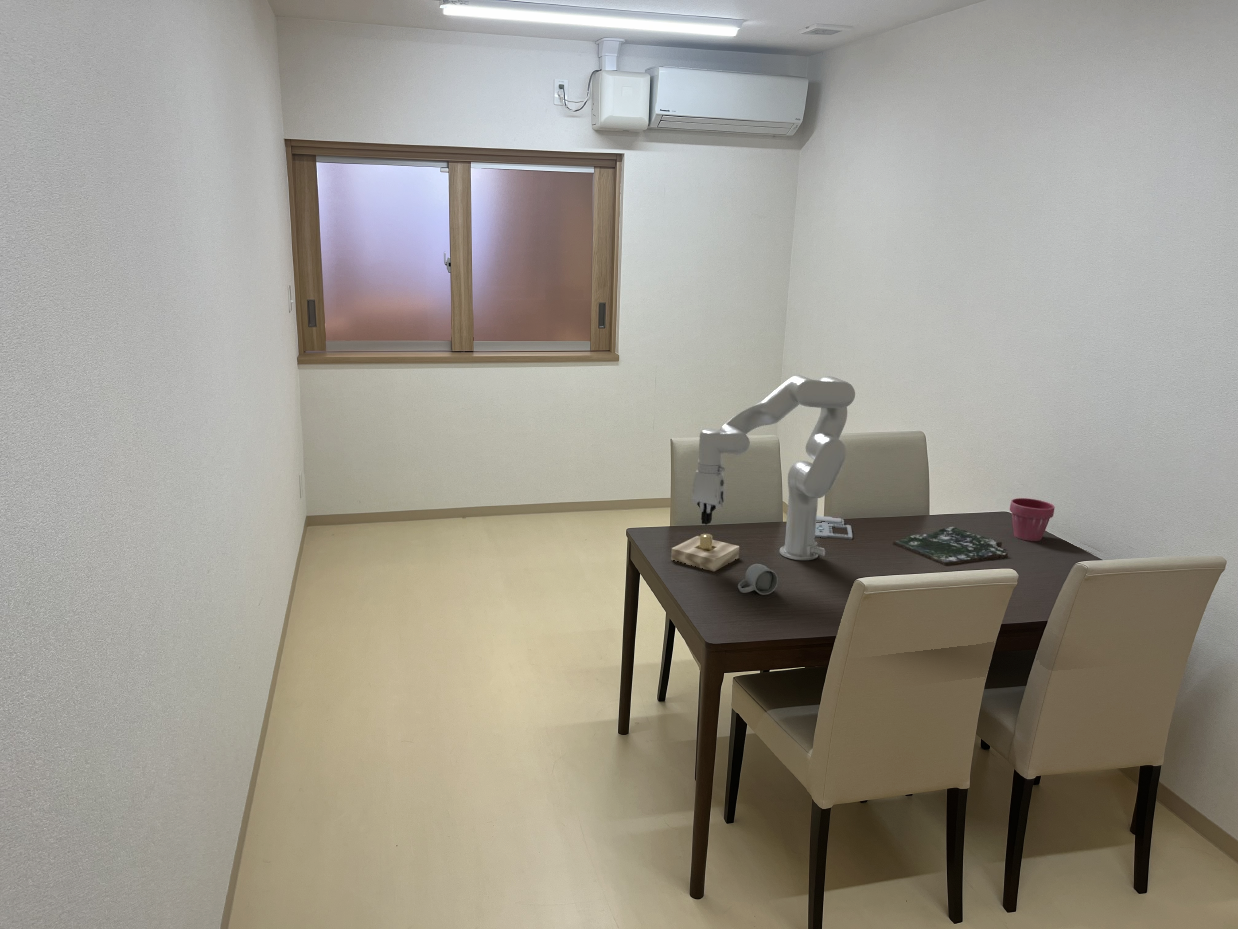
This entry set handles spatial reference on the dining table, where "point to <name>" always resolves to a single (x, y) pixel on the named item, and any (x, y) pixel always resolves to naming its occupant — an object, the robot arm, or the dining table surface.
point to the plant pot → (1030, 518)
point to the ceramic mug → (759, 580)
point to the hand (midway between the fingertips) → (706, 523)
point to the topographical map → (952, 546)
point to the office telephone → (826, 529)
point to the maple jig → (705, 554)
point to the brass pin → (706, 542)
